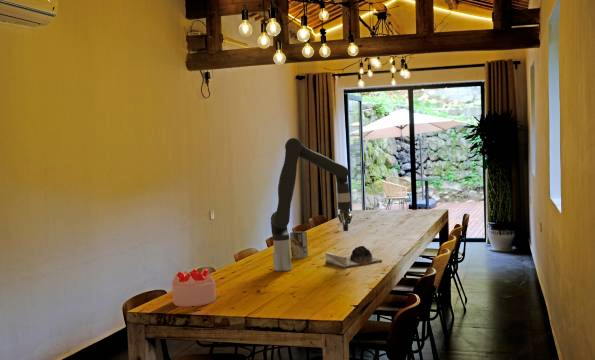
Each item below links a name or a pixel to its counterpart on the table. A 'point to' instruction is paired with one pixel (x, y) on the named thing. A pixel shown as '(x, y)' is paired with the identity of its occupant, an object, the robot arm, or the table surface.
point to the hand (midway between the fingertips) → (345, 230)
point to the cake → (193, 288)
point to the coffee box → (299, 244)
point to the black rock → (361, 254)
